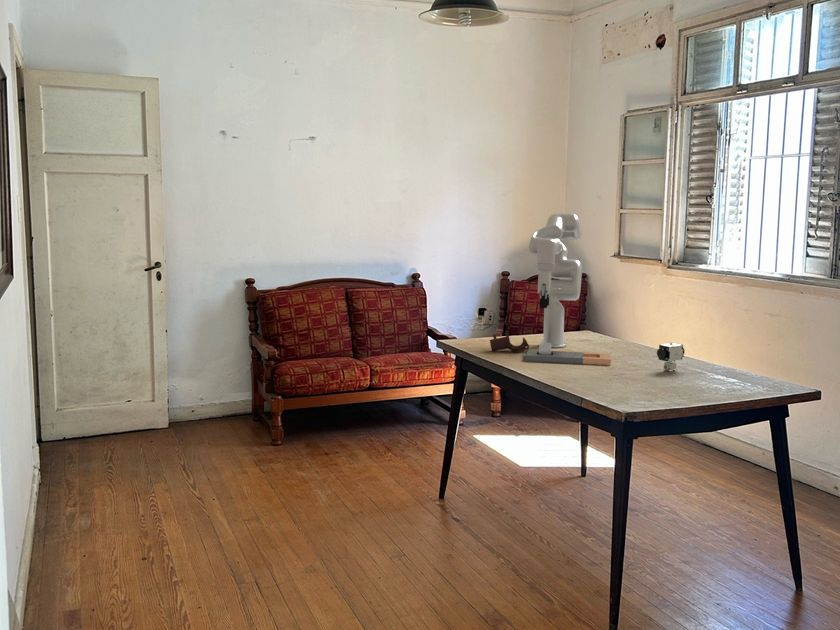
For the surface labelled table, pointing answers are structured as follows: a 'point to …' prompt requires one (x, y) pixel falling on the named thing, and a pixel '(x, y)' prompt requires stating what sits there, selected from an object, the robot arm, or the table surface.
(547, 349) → the grey rectangular block
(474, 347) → the table surface
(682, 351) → the pneumatic valve
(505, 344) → the bracket
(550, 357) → the grey copper flat plate
